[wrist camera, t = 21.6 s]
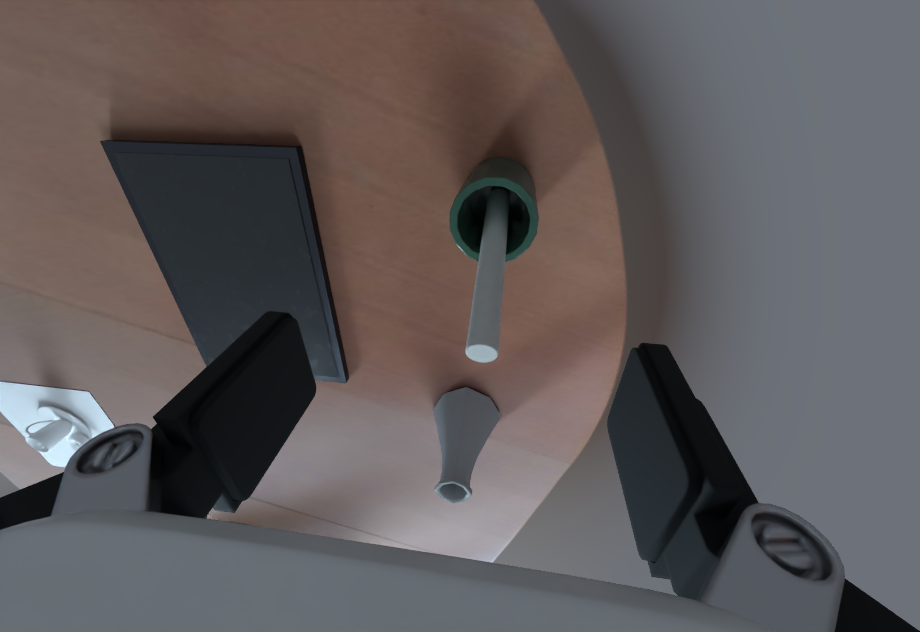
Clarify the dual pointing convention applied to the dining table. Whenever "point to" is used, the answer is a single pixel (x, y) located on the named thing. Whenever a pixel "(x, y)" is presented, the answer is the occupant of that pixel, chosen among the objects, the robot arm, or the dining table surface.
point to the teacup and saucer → (53, 418)
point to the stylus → (489, 280)
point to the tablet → (234, 240)
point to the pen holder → (473, 203)
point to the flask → (462, 438)
